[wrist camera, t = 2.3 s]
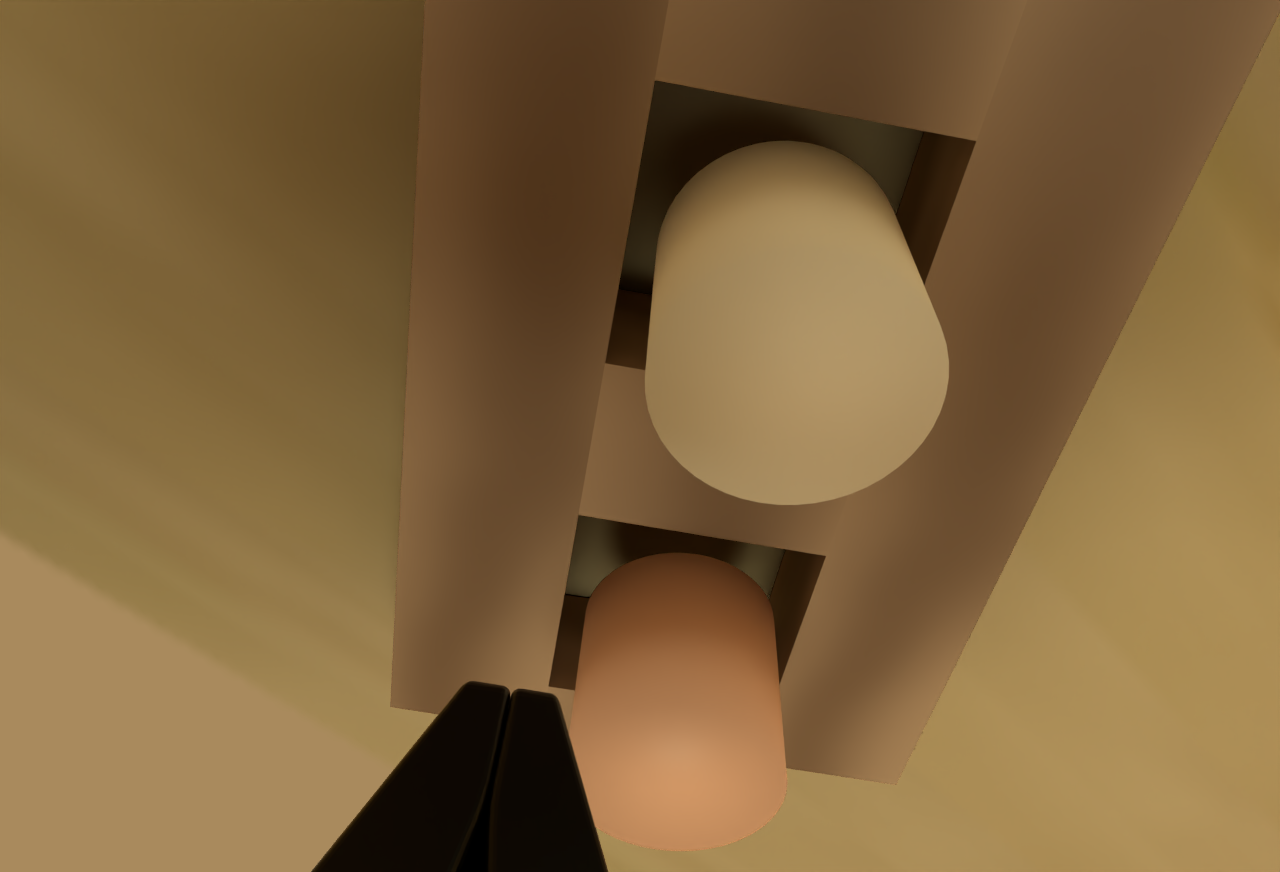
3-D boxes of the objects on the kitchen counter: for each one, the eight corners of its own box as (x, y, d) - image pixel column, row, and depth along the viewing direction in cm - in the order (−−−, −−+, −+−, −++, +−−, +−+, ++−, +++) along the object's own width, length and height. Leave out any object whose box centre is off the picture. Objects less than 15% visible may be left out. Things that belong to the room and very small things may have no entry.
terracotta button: (573, 674, 23) (551, 834, 19) (599, 538, 20) (579, 691, 17) (749, 702, 23) (757, 864, 20) (795, 570, 21) (812, 728, 17)
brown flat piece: (420, 615, 26) (390, 706, 24) (523, -896, 12) (475, -1062, 10) (878, 688, 27) (896, 784, 24) (1479, -668, 13) (1666, -768, 10)
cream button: (637, 344, 18) (622, 479, 15) (681, 118, 16) (675, 219, 12) (860, 382, 18) (894, 525, 15) (934, 166, 16) (994, 277, 13)
